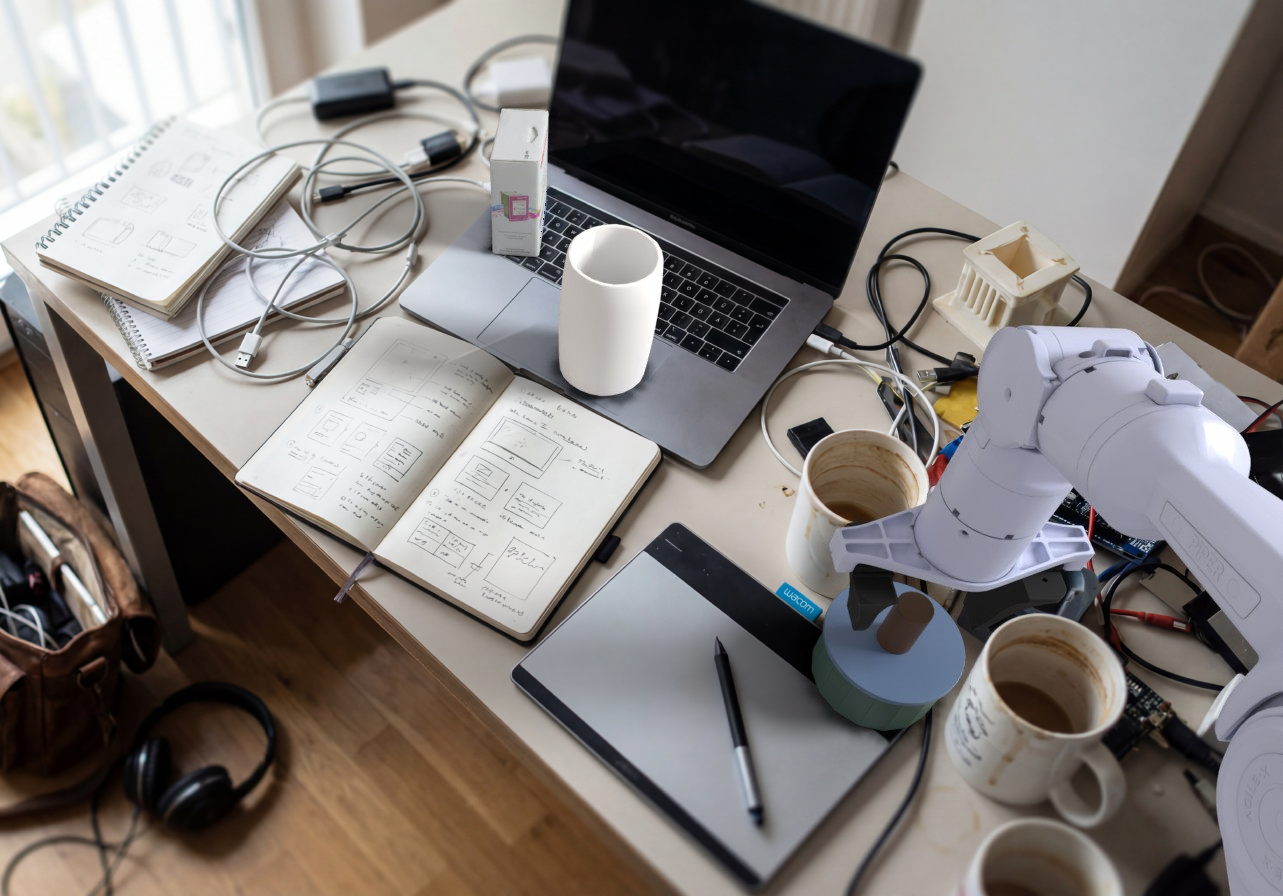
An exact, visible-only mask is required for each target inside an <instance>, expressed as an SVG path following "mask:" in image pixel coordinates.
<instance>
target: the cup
mask: <svg viewBox="0 0 1283 896" xmlns="http://www.w3.org/2000/svg"><path fill="white" fill-rule="evenodd" d="M564 261H565V262H564V267H563V272H562V278H561V285H560V294H559V308H558V309H559V310H558V362H559V370H560V372H561V375H562V377H563V378H564V379H565V380H566V381H567V382H568V384H569V385H571V386H572V387H574V388H575V389H577V390H579V391H582V392H584V393H587V394H589V395H593V396H598V397H608V396H609V397H610V396H615V395H619V394H620V395H621V394H624V393H625V392H627V391H630V390H631V389H633V388H634V387H636V386H637V385H638V384H639V383H641V381H642V378H643V377H644V375H645V371H646V368H647V364H648V361H649V356H650V352H651V349H652V345H653V339H654V336H655V330H656V325H657V319H658V315H659V309H660V303H661V297H662V286H663V275H664V274H663V273H664V255H663V251H662V248H661V246H660V245H659V243H658V242H657V241H656V240H655V239H654V238H652V237H651V236H650V235H649V234H647V233H645V232H644V231H643V230H640V229H638V228H636V227H632V226H628V225H623V224H617V223H613V224H612V223H611V224H602V225H597V226H592V227H590V228H588V229H586V230H583V231H582V232H580V233H578V234H577V235H576V236H574V238H572V240H571V242H570V243H569V245H568V247H567V251H566V256H565V260H564Z"/></svg>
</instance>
